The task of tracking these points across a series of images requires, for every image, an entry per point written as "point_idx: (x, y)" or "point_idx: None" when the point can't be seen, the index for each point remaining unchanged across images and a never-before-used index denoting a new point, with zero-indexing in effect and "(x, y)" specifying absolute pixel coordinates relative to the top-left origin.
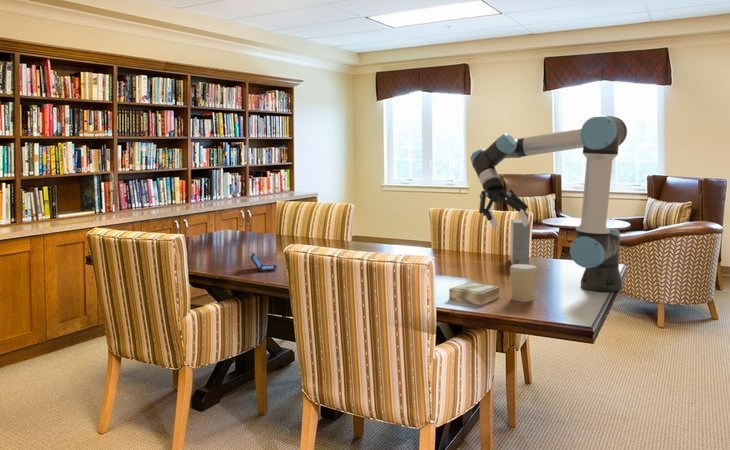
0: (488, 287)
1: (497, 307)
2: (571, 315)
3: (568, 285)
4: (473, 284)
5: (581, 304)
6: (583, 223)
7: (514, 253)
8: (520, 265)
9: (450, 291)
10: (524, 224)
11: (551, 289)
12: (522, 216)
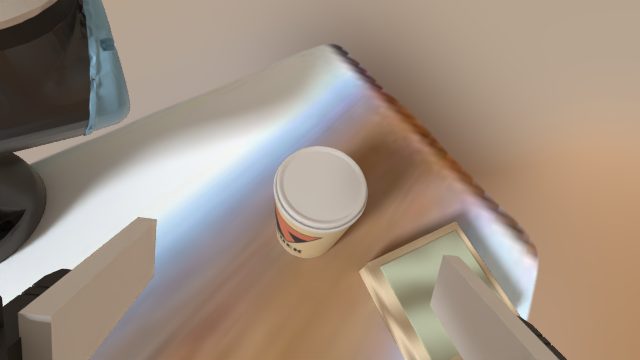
0: (409, 264)
1: (411, 199)
2: (305, 88)
3: None
4: (436, 327)
5: (216, 124)
6: None
7: None
8: (317, 205)
9: None
10: (147, 272)
11: None
12: (108, 294)
